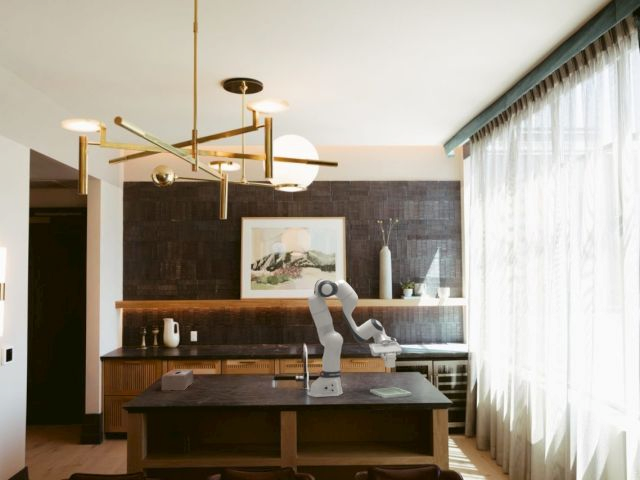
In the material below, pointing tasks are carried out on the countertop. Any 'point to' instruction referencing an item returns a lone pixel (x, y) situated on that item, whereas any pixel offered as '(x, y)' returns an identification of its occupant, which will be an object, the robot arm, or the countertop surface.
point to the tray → (390, 392)
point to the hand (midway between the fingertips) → (390, 359)
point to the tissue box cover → (177, 379)
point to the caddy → (390, 360)
